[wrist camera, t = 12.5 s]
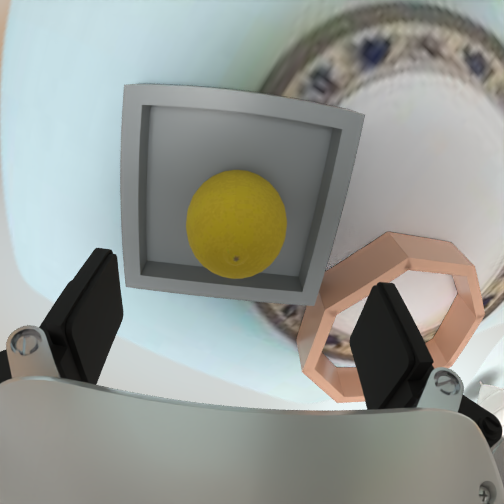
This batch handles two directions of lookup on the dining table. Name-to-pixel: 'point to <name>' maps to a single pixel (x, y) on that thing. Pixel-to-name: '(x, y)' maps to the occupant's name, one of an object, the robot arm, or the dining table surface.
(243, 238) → the lemon
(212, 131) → the grey tray
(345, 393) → the terracotta ring
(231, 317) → the dining table surface
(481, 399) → the spinning top
